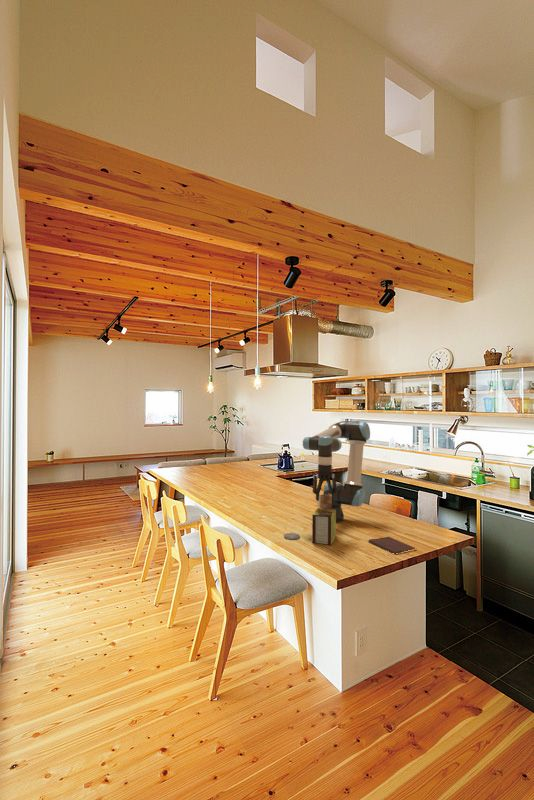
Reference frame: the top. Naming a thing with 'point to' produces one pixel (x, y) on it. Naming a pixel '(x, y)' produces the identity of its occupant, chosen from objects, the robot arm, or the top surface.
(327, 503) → the walnut block
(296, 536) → the slate coaster
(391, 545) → the notebook
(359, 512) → the top surface
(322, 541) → the protein box
